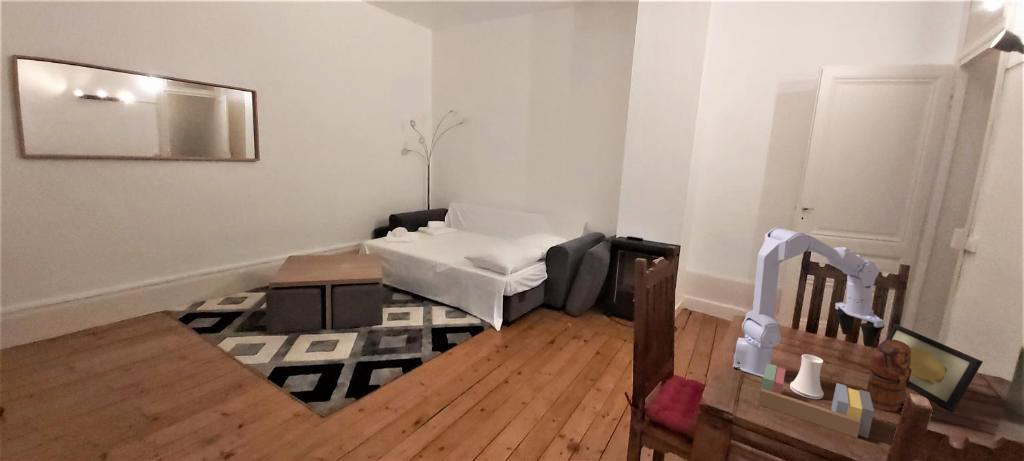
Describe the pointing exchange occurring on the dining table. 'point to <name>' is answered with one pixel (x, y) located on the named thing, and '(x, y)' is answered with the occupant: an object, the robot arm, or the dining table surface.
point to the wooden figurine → (889, 375)
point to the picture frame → (936, 368)
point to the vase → (809, 378)
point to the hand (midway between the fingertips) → (857, 339)
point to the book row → (847, 408)
